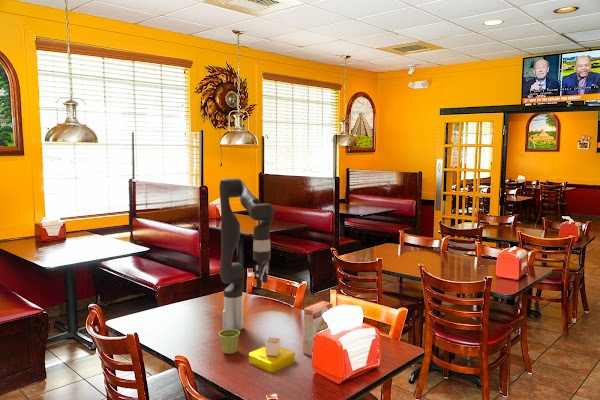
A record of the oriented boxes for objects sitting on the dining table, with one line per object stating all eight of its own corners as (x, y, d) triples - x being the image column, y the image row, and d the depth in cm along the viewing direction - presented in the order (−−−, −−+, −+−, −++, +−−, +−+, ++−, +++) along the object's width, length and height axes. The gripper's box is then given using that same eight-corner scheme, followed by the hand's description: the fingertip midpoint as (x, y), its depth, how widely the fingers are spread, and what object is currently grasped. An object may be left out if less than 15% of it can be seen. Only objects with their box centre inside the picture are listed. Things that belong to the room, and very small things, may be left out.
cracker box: (313, 357, 210) (313, 310, 208) (302, 353, 214) (302, 307, 212) (332, 347, 221) (332, 302, 219) (321, 343, 225) (322, 300, 223)
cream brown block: (265, 354, 203) (265, 341, 202) (269, 350, 208) (268, 337, 207) (277, 356, 202) (277, 342, 201) (280, 351, 207) (280, 338, 206)
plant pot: (215, 350, 217) (214, 331, 216) (233, 345, 223) (233, 327, 222) (225, 357, 210) (224, 338, 209) (244, 352, 215) (243, 333, 214)
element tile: (246, 363, 206) (246, 352, 206) (272, 352, 217) (272, 341, 217) (271, 374, 196) (271, 363, 195) (296, 362, 207) (296, 351, 206)
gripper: (258, 245, 220) (258, 280, 221) (248, 252, 206) (248, 289, 208) (274, 246, 218) (274, 281, 220) (265, 253, 204) (265, 290, 206)
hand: (262, 285), depth 214 cm, fingers open, 8 cm apart
